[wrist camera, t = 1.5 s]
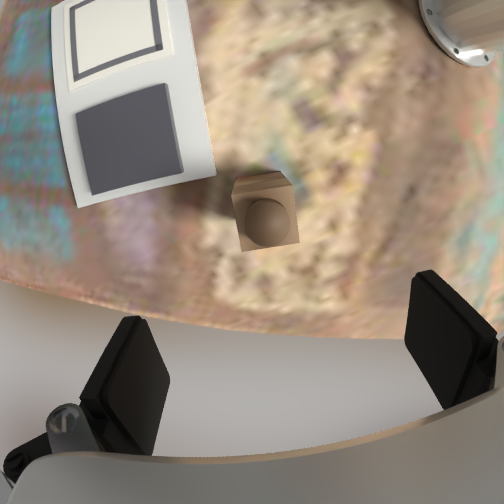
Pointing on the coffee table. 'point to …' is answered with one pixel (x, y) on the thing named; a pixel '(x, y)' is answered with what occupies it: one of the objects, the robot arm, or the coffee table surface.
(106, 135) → the desk board
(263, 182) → the stamp
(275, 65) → the coffee table surface
